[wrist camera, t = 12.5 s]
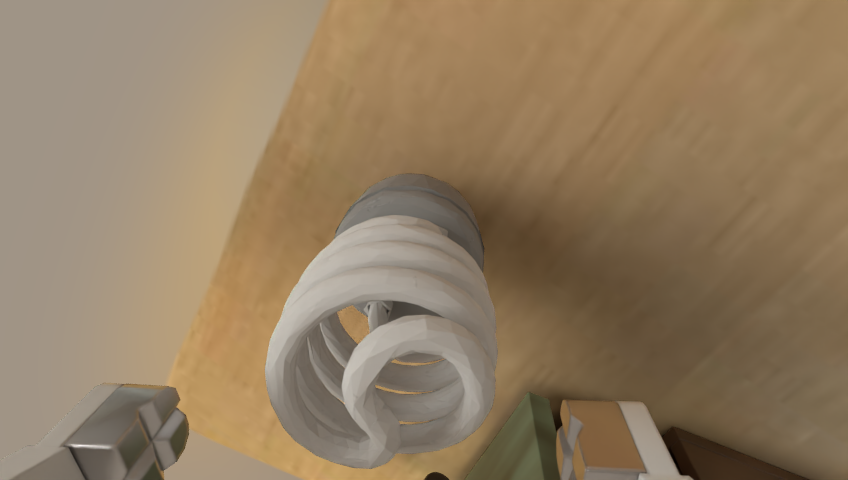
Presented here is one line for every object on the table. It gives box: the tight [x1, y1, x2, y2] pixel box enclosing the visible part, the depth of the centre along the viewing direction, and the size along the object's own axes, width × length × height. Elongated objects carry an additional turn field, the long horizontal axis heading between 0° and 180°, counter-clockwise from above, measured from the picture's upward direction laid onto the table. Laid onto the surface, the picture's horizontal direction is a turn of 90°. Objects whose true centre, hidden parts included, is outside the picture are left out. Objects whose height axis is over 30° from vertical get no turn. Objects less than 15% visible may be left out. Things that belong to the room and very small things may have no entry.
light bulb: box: [265, 174, 498, 469], centre depth 15 cm, size 6×6×12 cm
